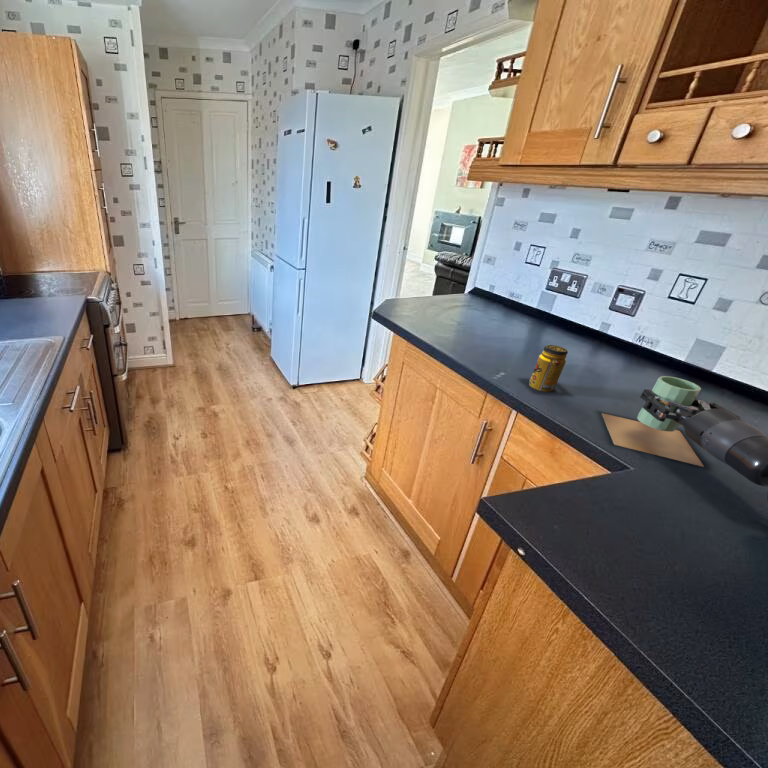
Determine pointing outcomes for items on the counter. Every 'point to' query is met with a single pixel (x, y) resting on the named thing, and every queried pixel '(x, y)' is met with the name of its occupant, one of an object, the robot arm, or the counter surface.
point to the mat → (650, 439)
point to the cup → (670, 391)
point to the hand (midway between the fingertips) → (662, 394)
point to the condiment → (548, 368)
